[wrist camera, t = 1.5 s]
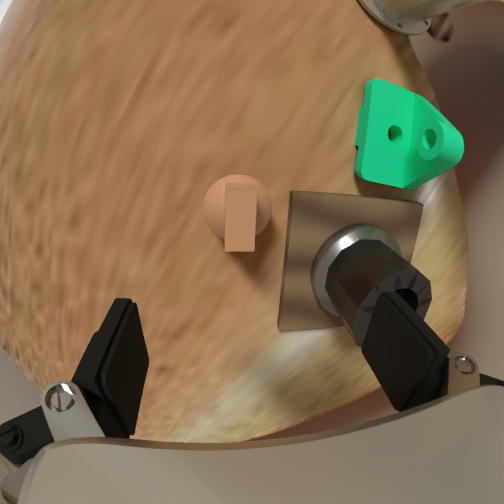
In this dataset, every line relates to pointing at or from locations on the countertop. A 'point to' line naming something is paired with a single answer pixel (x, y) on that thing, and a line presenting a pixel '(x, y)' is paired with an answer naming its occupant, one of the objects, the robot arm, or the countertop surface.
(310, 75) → the countertop surface
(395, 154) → the camera mount
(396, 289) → the black hollow cylinder
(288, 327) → the mount board
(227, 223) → the tan knob
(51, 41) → the countertop surface
